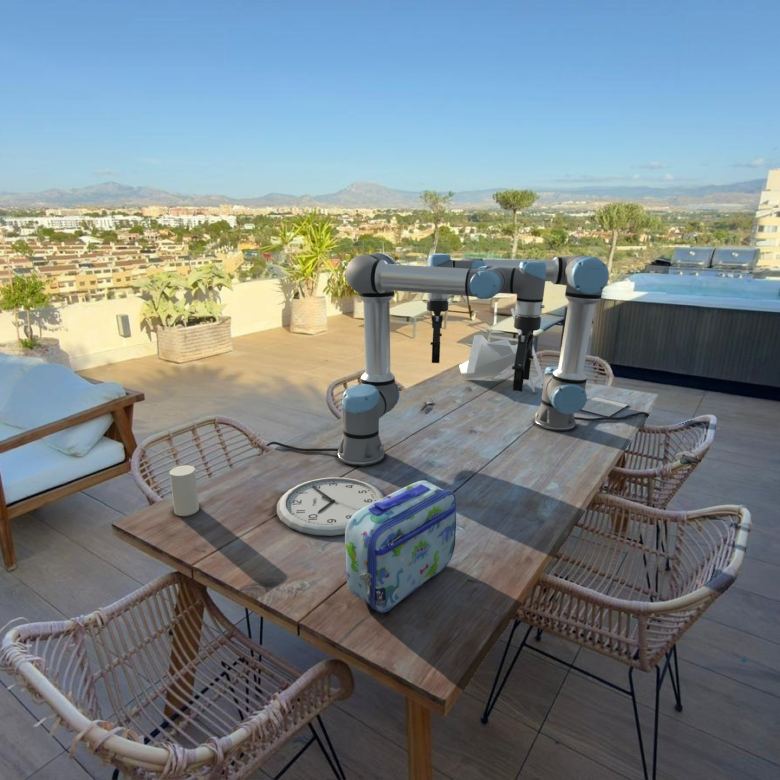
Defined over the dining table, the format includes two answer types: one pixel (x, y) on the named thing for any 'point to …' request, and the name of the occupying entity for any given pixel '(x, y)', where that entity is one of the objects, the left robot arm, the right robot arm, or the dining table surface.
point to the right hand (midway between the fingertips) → (435, 358)
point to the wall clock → (325, 504)
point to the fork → (427, 403)
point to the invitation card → (603, 406)
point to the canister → (184, 490)
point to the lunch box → (399, 543)
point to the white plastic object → (494, 358)
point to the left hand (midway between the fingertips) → (521, 384)
